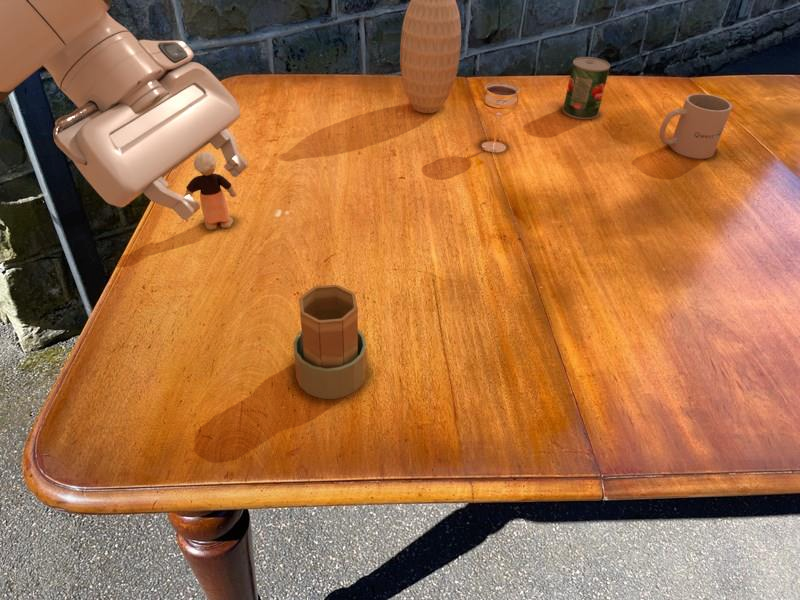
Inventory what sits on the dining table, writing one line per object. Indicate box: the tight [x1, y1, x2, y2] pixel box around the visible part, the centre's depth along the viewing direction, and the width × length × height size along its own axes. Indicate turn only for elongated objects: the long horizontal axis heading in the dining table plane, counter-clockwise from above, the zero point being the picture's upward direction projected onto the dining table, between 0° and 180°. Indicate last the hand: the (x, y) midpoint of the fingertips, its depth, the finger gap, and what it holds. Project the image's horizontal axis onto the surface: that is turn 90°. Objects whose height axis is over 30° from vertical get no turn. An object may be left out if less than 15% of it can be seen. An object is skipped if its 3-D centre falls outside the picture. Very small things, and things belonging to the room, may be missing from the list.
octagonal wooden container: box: [298, 284, 359, 368], centre depth 75 cm, size 6×6×11 cm
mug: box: [659, 93, 733, 160], centre depth 128 cm, size 12×9×10 cm
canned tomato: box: [562, 56, 611, 120], centre depth 140 cm, size 8×8×11 cm
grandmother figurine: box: [184, 151, 238, 231], centre depth 99 cm, size 8×4×13 cm, turn 115°
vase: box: [399, 0, 462, 114], centre depth 133 cm, size 13×13×28 cm
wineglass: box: [481, 81, 521, 153], centre depth 125 cm, size 7×7×12 cm
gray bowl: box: [292, 328, 367, 400], centre depth 77 cm, size 9×9×5 cm
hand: (219, 192), depth 67 cm, fingers open, 8 cm apart
